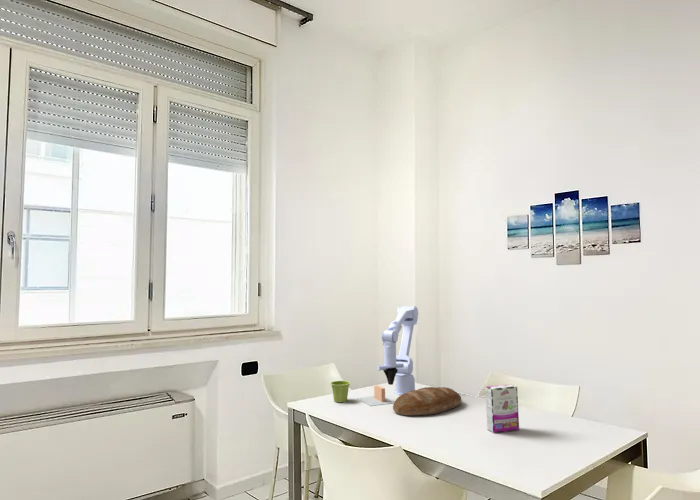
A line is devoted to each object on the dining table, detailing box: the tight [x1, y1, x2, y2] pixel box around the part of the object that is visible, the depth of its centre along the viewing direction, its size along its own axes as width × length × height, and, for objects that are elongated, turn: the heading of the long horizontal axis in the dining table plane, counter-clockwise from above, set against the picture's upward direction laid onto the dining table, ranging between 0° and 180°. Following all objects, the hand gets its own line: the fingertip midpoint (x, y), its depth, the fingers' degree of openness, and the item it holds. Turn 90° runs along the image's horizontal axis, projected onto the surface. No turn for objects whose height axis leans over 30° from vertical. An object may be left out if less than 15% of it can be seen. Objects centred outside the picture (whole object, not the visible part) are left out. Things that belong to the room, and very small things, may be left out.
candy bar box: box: [484, 383, 520, 434], centre depth 192 cm, size 11×5×16 cm, turn 105°
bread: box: [392, 386, 462, 417], centre depth 226 cm, size 22×37×8 cm, turn 131°
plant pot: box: [330, 380, 351, 403], centre depth 240 cm, size 9×9×9 cm
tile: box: [373, 384, 386, 402], centre depth 240 cm, size 2×8×6 cm, turn 23°
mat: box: [356, 395, 395, 407], centre depth 239 cm, size 13×16×1 cm
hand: (390, 384), depth 242 cm, fingers closed
